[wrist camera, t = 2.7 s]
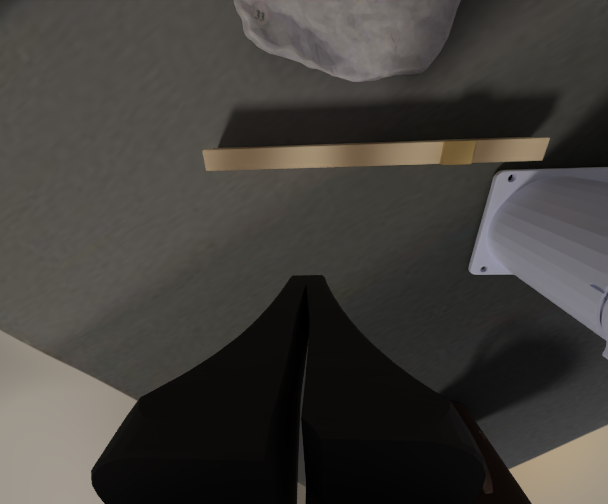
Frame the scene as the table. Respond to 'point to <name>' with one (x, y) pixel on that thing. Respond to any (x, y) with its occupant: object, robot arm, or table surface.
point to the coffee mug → (492, 468)
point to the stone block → (351, 33)
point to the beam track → (377, 153)
